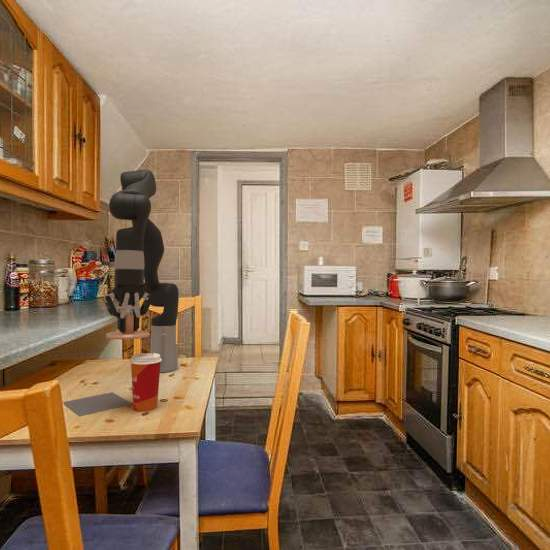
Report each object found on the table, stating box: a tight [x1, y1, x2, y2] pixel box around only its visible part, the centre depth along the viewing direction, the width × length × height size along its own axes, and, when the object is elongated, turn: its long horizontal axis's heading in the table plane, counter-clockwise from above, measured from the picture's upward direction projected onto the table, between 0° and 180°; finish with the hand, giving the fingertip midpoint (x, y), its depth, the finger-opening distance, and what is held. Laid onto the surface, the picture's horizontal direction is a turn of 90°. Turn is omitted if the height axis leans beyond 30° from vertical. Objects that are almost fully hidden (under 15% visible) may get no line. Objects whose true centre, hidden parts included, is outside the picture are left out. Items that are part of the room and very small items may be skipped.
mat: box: [63, 391, 133, 417], centre depth 108 cm, size 14×14×1 cm
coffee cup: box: [129, 352, 162, 413], centre depth 105 cm, size 8×8×15 cm
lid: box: [105, 313, 151, 341], centre depth 106 cm, size 11×11×6 cm
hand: (128, 331), depth 106 cm, fingers closed on lid, 2 cm apart
